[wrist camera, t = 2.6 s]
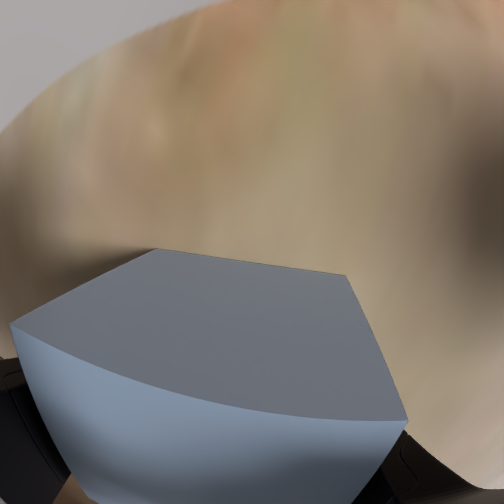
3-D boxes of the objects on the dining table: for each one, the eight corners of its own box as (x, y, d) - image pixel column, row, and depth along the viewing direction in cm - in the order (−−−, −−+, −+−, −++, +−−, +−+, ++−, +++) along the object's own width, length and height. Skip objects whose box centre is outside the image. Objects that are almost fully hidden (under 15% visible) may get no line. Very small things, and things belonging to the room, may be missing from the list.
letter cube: (307, 420, 10) (299, 555, 4) (161, 391, 11) (88, 498, 5) (345, 275, 8) (409, 420, 3) (156, 248, 9) (9, 323, 3)
